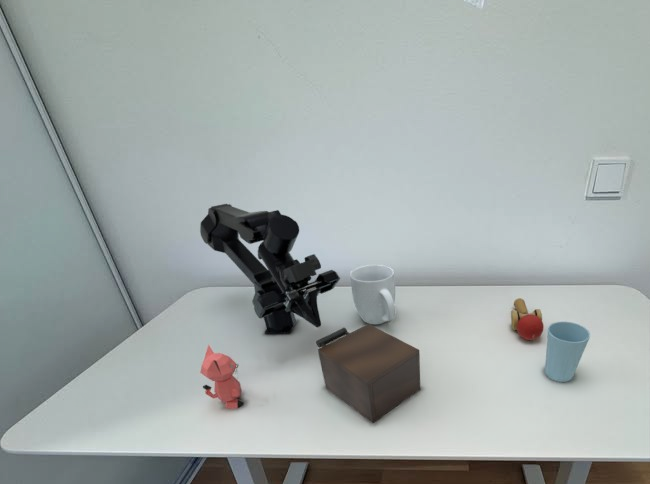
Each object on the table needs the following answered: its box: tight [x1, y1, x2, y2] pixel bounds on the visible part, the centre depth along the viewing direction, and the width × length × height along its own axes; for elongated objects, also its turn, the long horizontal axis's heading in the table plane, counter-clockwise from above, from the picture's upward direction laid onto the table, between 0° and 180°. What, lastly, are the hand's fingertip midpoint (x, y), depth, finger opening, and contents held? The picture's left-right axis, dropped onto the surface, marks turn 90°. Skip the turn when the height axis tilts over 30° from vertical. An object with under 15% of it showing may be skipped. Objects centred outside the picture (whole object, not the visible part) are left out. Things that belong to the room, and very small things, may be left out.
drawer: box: [315, 327, 350, 378], centre depth 74 cm, size 18×11×8 cm, turn 46°
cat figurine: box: [200, 344, 244, 410], centre depth 69 cm, size 7×7×12 cm
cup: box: [544, 321, 591, 383], centre depth 74 cm, size 8×8×10 cm
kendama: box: [510, 297, 545, 341], centre depth 92 cm, size 8×6×18 cm
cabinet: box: [317, 323, 421, 424], centre depth 72 cm, size 15×13×10 cm
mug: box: [349, 263, 396, 325], centre depth 93 cm, size 15×11×13 cm
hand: (319, 326), depth 80 cm, fingers closed
